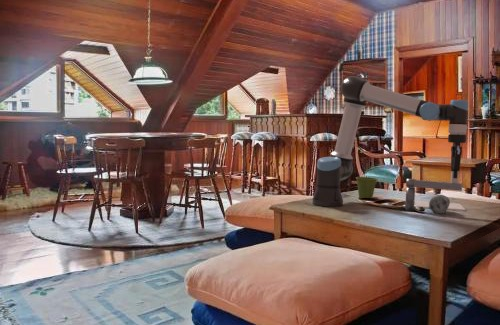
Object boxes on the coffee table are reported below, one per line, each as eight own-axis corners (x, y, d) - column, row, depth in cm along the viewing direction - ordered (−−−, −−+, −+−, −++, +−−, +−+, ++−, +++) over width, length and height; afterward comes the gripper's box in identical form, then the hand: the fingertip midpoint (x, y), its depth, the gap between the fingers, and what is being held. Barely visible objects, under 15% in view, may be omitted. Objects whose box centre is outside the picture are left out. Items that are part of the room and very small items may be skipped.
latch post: (405, 210, 214) (406, 187, 213) (404, 208, 218) (406, 186, 217) (414, 211, 213) (415, 188, 212) (413, 209, 217) (414, 187, 216)
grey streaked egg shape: (451, 209, 202) (442, 188, 206) (430, 216, 206) (422, 196, 210) (456, 212, 214) (447, 192, 217) (436, 218, 218) (428, 199, 221)
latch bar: (405, 186, 214) (405, 179, 214) (406, 185, 218) (407, 178, 217) (461, 191, 202) (461, 183, 202) (461, 190, 206) (462, 182, 206)
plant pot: (379, 200, 242) (380, 179, 241) (357, 199, 242) (358, 179, 241) (373, 196, 254) (374, 177, 253) (352, 196, 254) (353, 176, 253)
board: (416, 207, 222) (417, 206, 222) (414, 202, 239) (414, 200, 239) (465, 211, 216) (465, 209, 216) (459, 205, 233) (459, 203, 233)
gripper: (469, 134, 198) (465, 187, 201) (463, 133, 211) (460, 183, 213) (450, 134, 200) (447, 186, 203) (446, 133, 213) (443, 182, 215)
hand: (454, 185), depth 208 cm, fingers closed
